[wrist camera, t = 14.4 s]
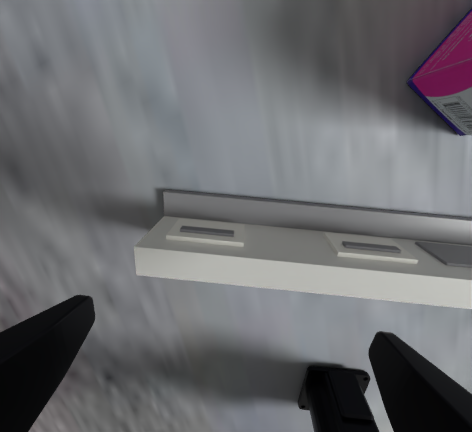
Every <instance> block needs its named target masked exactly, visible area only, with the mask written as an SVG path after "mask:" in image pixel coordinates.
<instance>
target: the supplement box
mask: <svg viewBox="0 0 472 432" xmlns="http://www.w3.org/2000/svg"><path fill="white" fill-rule="evenodd" d="M407 83H408V85H409V86H410V87H411V88H412V89H413V90H414V91H415V92H416V93H417V94H418V95H419V96H420V97H421V98H422V99H423V100H424V101H425V102H426V103H427V104H428V105H429V106H430V107H431V108H432V109H433V110H434V111H435V112H436V113H437V114H438V115H439V116H440V117H441V118H442V119H443V120H444V121H445V122H446V123H447V124H448V125H449V126H450V127H451V128H453V129H454V130H455V131H456V132H457V134H459V135H460V136H463V135H472V9H471V10H470V11H469V12H468V13H467V14H466V16H465V17H464V18H463V19H462V20H461V21H460V22H459V23H458V24H457V26H456V27H455V28H454V29H453V30H452V31H451V32H450V33H449V35H448V36H447V37H446V38H445V39H444V40H443V41H442V42H441V43H440V45H439V46H438V47H437V48H436V49H435V50H434V51H433V52H432V53H431V55H430V56H429V57H428V58H427V59H426V60H425V61H424V62H423V64H422V65H421V66H420V67H419V68H418V69H417V70H416V71H415V73H414V74H413V75H412V76H411V77H410V79H409V80H408V81H407Z"/></svg>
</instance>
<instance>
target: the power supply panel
mask: <svg viewBox="0 0 472 432" xmlns="http://www.w3.org/2000/svg"><path fill="white" fill-rule="evenodd" d="M163 198H164V217H163V218H162V219H161V220H160V221H159V222H158V223H157V224H156V225H155V226H154V227H153V228H152V229H151V230H150V231H149V232H148V233H147V234H146V235H145V236H144V237H143V238H142V239H141V240H140V241H139V242H138V243H137V244H136V245H135V246H134V253H135V265H136V275H141V276H151V277H161V278H171V279H180V280H190V281H200V282H210V283H220V284H230V285H239V286H249V287H259V288H269V289H279V290H289V291H298V292H308V293H318V294H328V295H338V296H348V297H357V298H367V299H377V300H387V301H397V302H407V303H416V304H426V305H436V306H446V307H456V308H465V309H472V218H466V217H455V216H444V215H434V214H423V213H412V212H402V211H391V210H380V209H370V208H359V207H348V206H338V205H327V204H317V203H306V202H295V201H285V200H274V199H263V198H253V197H242V196H231V195H221V194H210V193H199V192H189V191H178V190H165V191H164V192H163Z"/></svg>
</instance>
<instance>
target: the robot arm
mask: <svg viewBox="0 0 472 432" xmlns="http://www.w3.org/2000/svg"><path fill="white" fill-rule="evenodd" d="M94 321H95V311H94V304H93V299H92V297H90V296H85V295H76V296H74V297H72V298H70V299H68V300H66V301H63V302H61V303H59V304H57V305H55V306H53V307H51V308H49V309H47V310H45V311H43V312H41V313H39V314H37V315H35V316H33V317H31V318H29V319H27V320H25V321H23V322H21V323H19V324H17V325H15V326H12V327H10V328H8V329H6V330H4V331H2V332H0V432H28V431H29V430H30V428H31V427H32V425H33V423H34V422H35V420H36V419H37V417H38V416H39V414H40V413H41V411H42V410H43V408H44V407H45V405H46V404H47V402H48V401H49V399H50V398H51V396H52V395H53V393H54V392H55V390H56V389H57V387H58V386H59V384H60V383H61V381H62V379H63V378H64V376H65V375H66V373H67V371H68V369H69V368H70V366H71V364H72V362H73V360H74V359H75V357H76V355H77V353H78V351H79V349H80V348H81V346H82V344H83V342H84V340H85V338H86V336H87V335H88V333H89V331H90V329H91V327H92V325H93V323H94ZM369 359H370V362H371V365H372V369H373V372H374V375H375V378H376V381H377V385H378V388H379V391H380V394H381V397H382V400H383V404H384V407H385V410H386V412H387V415H388V418H389V420H390V423H391V426H392V428H393V431H394V432H472V394H471V393H470V392H468V391H467V390H466V389H464V388H463V387H462V386H460V385H459V384H458V383H457V382H455V381H454V380H453V379H451V378H450V377H449V376H448V375H446V374H445V373H444V372H442V371H441V370H440V369H438V368H437V367H436V366H435V365H433V364H432V363H431V362H429V361H428V360H427V359H426V358H424V357H423V356H422V355H420V354H419V353H418V352H417V351H415V350H414V349H413V348H411V347H410V346H409V345H407V344H406V343H405V342H404V341H402V340H401V339H400V338H398V337H397V336H396V335H394V334H393V333H390V332H382V331H379V332H377V333H376V334H375V337H374V339H373V341H372V343H371V346H370V348H369ZM369 381H370V376H369V374H368V373H367V372H361V371H352V370H342V369H333V368H324V367H315V366H310V367H308V368H307V371H306V375H305V379H304V382H303V386H302V390H301V393H300V397H299V400H298V406H299V408H300V409H302V410H310V414H311V419H312V423H313V428H314V432H379V430H378V427H377V425H376V423H375V420H374V416H373V414H372V412H371V409H370V407H369V405H368V403H367V400H366V398H365V396H364V393H365V391H366V389H367V386H368V384H369Z"/></svg>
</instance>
